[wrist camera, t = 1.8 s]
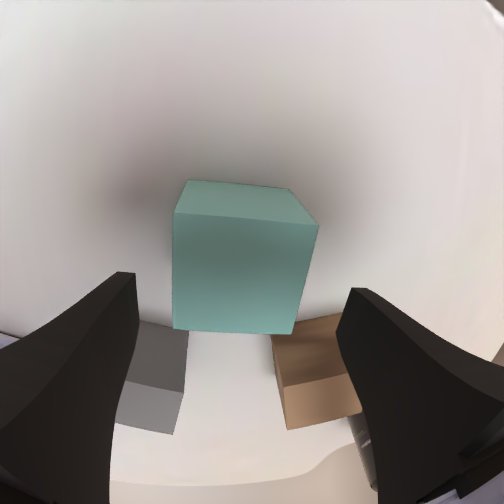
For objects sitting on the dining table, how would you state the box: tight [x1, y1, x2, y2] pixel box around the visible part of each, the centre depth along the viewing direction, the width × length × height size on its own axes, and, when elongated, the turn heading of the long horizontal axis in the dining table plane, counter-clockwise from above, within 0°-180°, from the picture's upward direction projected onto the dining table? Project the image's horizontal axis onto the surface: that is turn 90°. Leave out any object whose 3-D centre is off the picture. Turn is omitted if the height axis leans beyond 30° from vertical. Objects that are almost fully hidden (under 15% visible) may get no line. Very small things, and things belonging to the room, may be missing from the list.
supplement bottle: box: [348, 409, 378, 492], centre depth 20 cm, size 7×7×12 cm
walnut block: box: [271, 313, 362, 430], centre depth 18 cm, size 5×5×5 cm
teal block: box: [172, 180, 319, 334], centre depth 13 cm, size 5×5×5 cm
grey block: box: [115, 320, 189, 435], centre depth 16 cm, size 5×5×5 cm
